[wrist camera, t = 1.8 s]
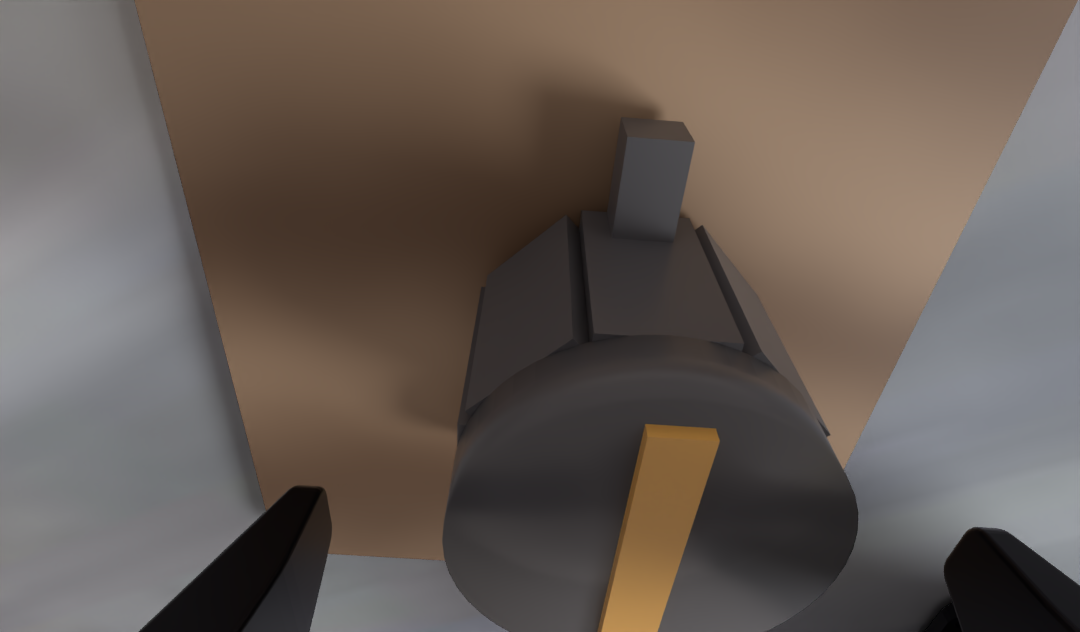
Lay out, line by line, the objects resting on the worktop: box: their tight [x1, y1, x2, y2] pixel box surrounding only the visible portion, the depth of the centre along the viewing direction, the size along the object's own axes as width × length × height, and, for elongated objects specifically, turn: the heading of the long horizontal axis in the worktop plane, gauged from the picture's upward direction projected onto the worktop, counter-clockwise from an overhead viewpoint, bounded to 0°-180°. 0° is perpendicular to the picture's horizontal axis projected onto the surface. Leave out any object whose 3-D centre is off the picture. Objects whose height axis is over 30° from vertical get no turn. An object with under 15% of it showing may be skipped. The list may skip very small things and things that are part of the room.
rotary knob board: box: [134, 0, 1078, 560], centre depth 11 cm, size 18×14×5 cm
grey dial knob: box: [442, 117, 858, 632], centre depth 10 cm, size 7×5×5 cm
